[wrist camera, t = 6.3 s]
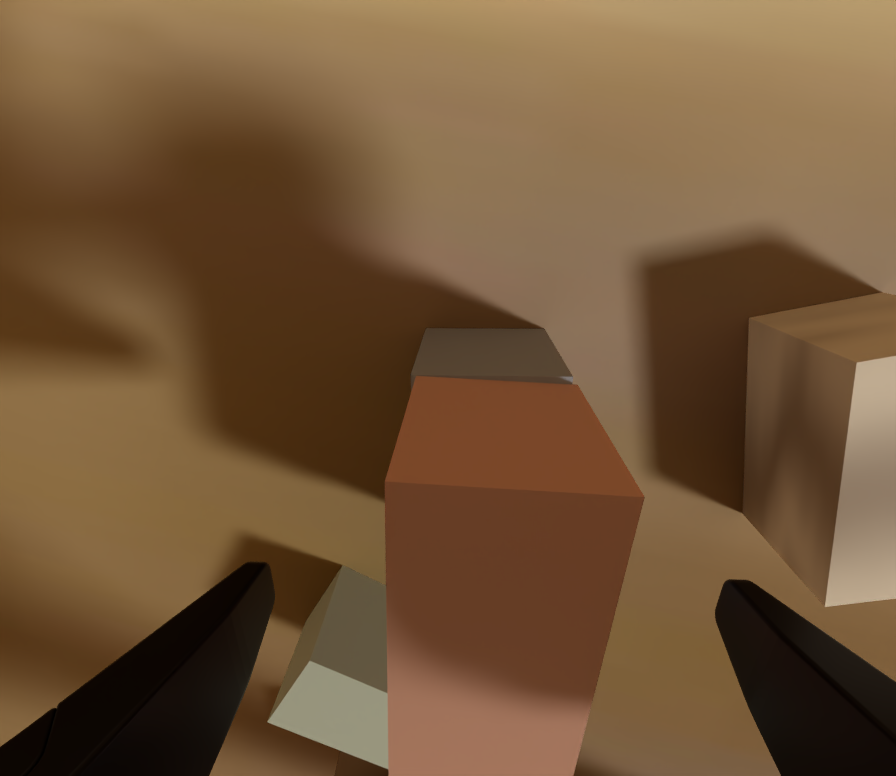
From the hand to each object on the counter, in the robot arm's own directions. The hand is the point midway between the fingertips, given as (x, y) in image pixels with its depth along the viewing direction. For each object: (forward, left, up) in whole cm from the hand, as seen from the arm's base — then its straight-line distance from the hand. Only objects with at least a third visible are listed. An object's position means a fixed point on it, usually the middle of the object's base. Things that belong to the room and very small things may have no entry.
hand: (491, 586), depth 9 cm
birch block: (+1, -10, -6) cm, 12 cm away
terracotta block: (0, 0, -2) cm, 2 cm away
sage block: (-9, +3, -6) cm, 11 cm away
